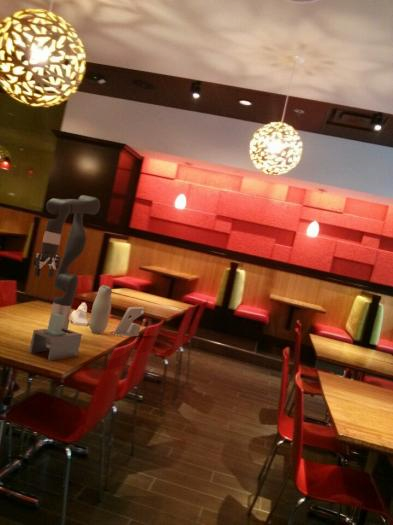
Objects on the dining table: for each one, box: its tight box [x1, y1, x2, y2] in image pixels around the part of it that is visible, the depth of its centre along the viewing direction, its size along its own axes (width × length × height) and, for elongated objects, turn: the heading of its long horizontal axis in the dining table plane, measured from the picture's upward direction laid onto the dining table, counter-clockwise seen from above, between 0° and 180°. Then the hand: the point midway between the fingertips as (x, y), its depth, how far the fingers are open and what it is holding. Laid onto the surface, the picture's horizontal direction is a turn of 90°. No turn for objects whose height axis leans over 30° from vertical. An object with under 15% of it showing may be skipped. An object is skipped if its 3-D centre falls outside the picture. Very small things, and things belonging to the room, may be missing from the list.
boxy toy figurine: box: [43, 313, 64, 348], centre depth 195 cm, size 6×6×14 cm
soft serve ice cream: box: [69, 302, 90, 327], centre depth 271 cm, size 12×15×14 cm
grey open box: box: [28, 328, 83, 362], centre depth 197 cm, size 18×12×10 cm, turn 156°
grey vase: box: [88, 284, 112, 334], centre depth 256 cm, size 10×10×28 cm
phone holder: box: [110, 306, 146, 337], centre depth 270 cm, size 17×10×18 cm, turn 150°
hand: (43, 276), depth 203 cm, fingers open, 8 cm apart
